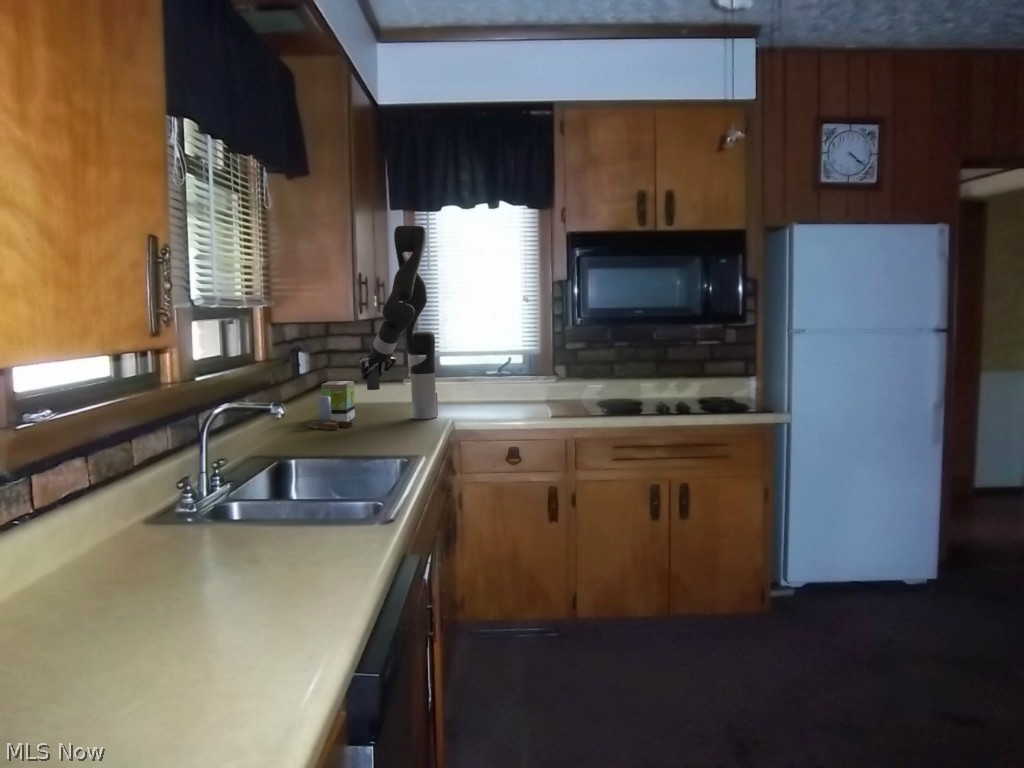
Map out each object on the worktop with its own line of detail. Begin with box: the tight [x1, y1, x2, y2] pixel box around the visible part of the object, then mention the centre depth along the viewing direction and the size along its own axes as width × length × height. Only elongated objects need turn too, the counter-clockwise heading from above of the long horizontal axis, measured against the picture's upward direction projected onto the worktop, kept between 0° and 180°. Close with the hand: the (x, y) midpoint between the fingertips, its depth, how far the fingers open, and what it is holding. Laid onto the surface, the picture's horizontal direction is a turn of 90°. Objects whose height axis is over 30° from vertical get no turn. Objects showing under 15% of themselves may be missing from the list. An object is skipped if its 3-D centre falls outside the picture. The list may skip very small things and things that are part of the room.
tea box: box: [320, 380, 356, 422], centre depth 309 cm, size 15×10×15 cm
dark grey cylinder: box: [366, 367, 381, 391], centre depth 292 cm, size 5×5×11 cm
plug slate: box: [317, 395, 332, 423], centre depth 292 cm, size 4×4×11 cm
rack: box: [308, 420, 353, 431], centre depth 291 cm, size 8×14×2 cm, turn 55°
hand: (370, 377), depth 294 cm, fingers closed on dark grey cylinder, 4 cm apart
